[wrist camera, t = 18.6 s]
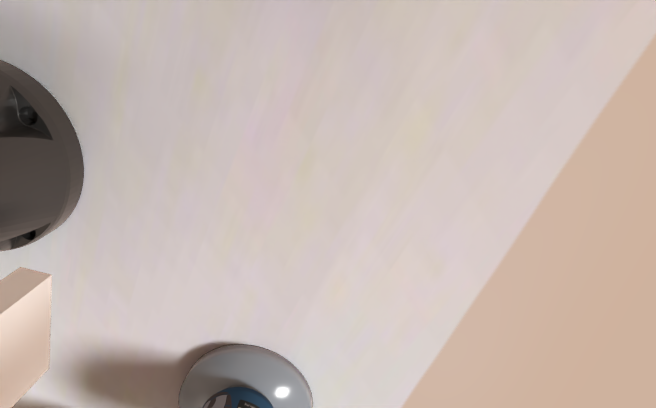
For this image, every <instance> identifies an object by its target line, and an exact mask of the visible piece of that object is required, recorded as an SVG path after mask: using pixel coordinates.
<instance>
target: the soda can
mask: <svg viewBox="0 0 656 408" xmlns="http://www.w3.org/2000/svg"><path fill="white" fill-rule="evenodd" d="M202 408H274V407H273V406H272V404H271V402H270V401H269V399H268V398H267V397H266V396H265V395H264V394H263V393H261V392H260V391H258V390H256V389H254V388H251V387H247V386H232V387H229V388H226V389H224V390H221V391H219V392H217V393H216V394H214V395H212V396H211V397H210V398H209V399H208V400H207V401H206V402H205V404H204V405H203V407H202Z"/></svg>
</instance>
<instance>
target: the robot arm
mask: <svg viewBox="0 0 656 408" xmlns="http://www.w3.org/2000/svg"><path fill="white" fill-rule="evenodd" d="M83 178H84V166H83V157H82V152H81V147H80V144H79V140H78V138H77V135H76V132H75V130H74V128H73V126H72V124H71V122H70V120H69V118H68V117H67V115H66V113H65V112H64V110H63V109H62V107H61V106H60V105H59V103H58V102H57V101H56V99H55V98H54V97H53V96H52V95H51V94H50V93H49V92H48V91H47V90H46V89H45V88H44V87H43V86H42V85H41V84H40V83H39V82H37V81H36V80H35V79H34V78H32V77H31V76H29V75H28V74H27V73H25V72H23V71H22V70H20V69H18V68H16V67H14V66H13V65H10V64H8V63H6V62H3V61H0V251H6V250H12V249H16V248H20V247H23V246H26V245H28V244H31V243H33V242H35V241H37V240H39V239H41V238H42V237H44V236H45V235H47V234H48V233H50V232H52V231H53V230H55V229H56V228H58V227H59V226H60V225H61V224H62V223H64V222H65V221H66V219H67V218H68V217H69V216H70V215H71V213H72V212H73V210H74V208H75V207H76V205H77V202H78V200H79V197H80V195H81V191H82V186H83ZM51 288H52V275H50V274H46V273H42V272H38V271H34V270H30V269H26V268H22V267H20V268H18V269H17V270H15V271H14V272H12V273H11V274H9V275H8V276H7V277H5V278H4V279H2V280H1V281H0V408H12V407H13V406H14V405H15V404H16V402H17V401H18V400H19V399H20V398H21V397H22V396H23V395H24V394H25V393H26V392H27V391H28V390H29V389H30V388H31V387H32V386H33V385H34V384H35V383H36V382H37V381H38V379H39V378H40V377H41V376H42V375H43V374H44V373H45V372H46V371H47V370H48V369H49V360H50V324H51Z"/></svg>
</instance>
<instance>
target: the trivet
mask: <svg viewBox="0 0 656 408" xmlns="http://www.w3.org/2000/svg"><path fill="white" fill-rule="evenodd" d="M232 386H247V387H251V388H254V389H256V390H258V391H260V392H261V393H263V394H264V395H265V396H266V397H267V398H268V399H269V401H270V402H271V404H272V406H273V407H274V408H313V399H312V394H311V390H310V387H309V385H308V383H307V381H306V380H305V378H304V376H303V375H302V374H301V373H300V371H299V370H298V369H297V368H296V367H295V366H294V365H293V364H292V363H291V362H289V361H288V360H286V359H285V358H284V357H282V356H280V355H278V354H277V353H275V352H272V351H270V350H268V349H264V348H261V347H257V346H252V345H229V346H223V347H220V348H217V349H214V350H212V351H210V352H208V353H206V354H205V355H203V356H202V357H201V358H199V359H198V360H197V361H196V362H195V364H194V365H193V366H192V368H191V369H190V371H189V373H188V374H187V376H186V378H185V380H184V382H183V384H182V386H181V389H180V393H179V408H202V407H203V405H204V404H205V402H206V401H207V400H208V399H209V398H210V397H211V396H212V395H214V394H216V393H217V392H219V391H221V390H224V389H226V388H229V387H232Z"/></svg>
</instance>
